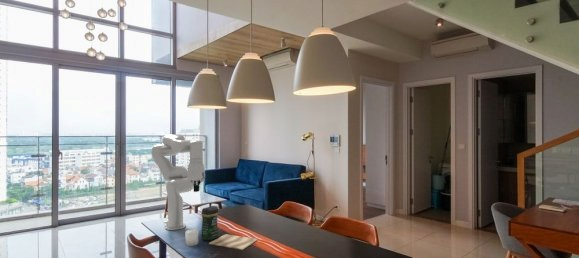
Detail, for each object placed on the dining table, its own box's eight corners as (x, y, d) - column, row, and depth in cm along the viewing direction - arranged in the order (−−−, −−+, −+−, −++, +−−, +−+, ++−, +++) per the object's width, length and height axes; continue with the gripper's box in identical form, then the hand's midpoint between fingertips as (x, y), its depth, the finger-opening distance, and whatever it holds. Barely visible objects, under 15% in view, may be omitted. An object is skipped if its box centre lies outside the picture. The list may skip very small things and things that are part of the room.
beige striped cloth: (209, 244, 172) (209, 243, 172) (225, 235, 187) (225, 234, 187) (242, 249, 164) (242, 248, 164) (257, 240, 178) (257, 239, 178)
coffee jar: (209, 241, 176) (209, 209, 176) (199, 239, 180) (198, 207, 180) (220, 236, 184) (220, 205, 184) (210, 234, 188) (210, 204, 188)
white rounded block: (182, 244, 171) (182, 232, 172) (191, 240, 178) (191, 228, 178) (192, 246, 169) (192, 233, 169) (201, 242, 175) (200, 230, 175)
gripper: (182, 161, 186) (182, 191, 185) (202, 162, 180) (202, 193, 180) (190, 160, 192) (190, 189, 192) (210, 160, 187) (210, 191, 186)
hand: (196, 191), depth 186 cm, fingers closed
